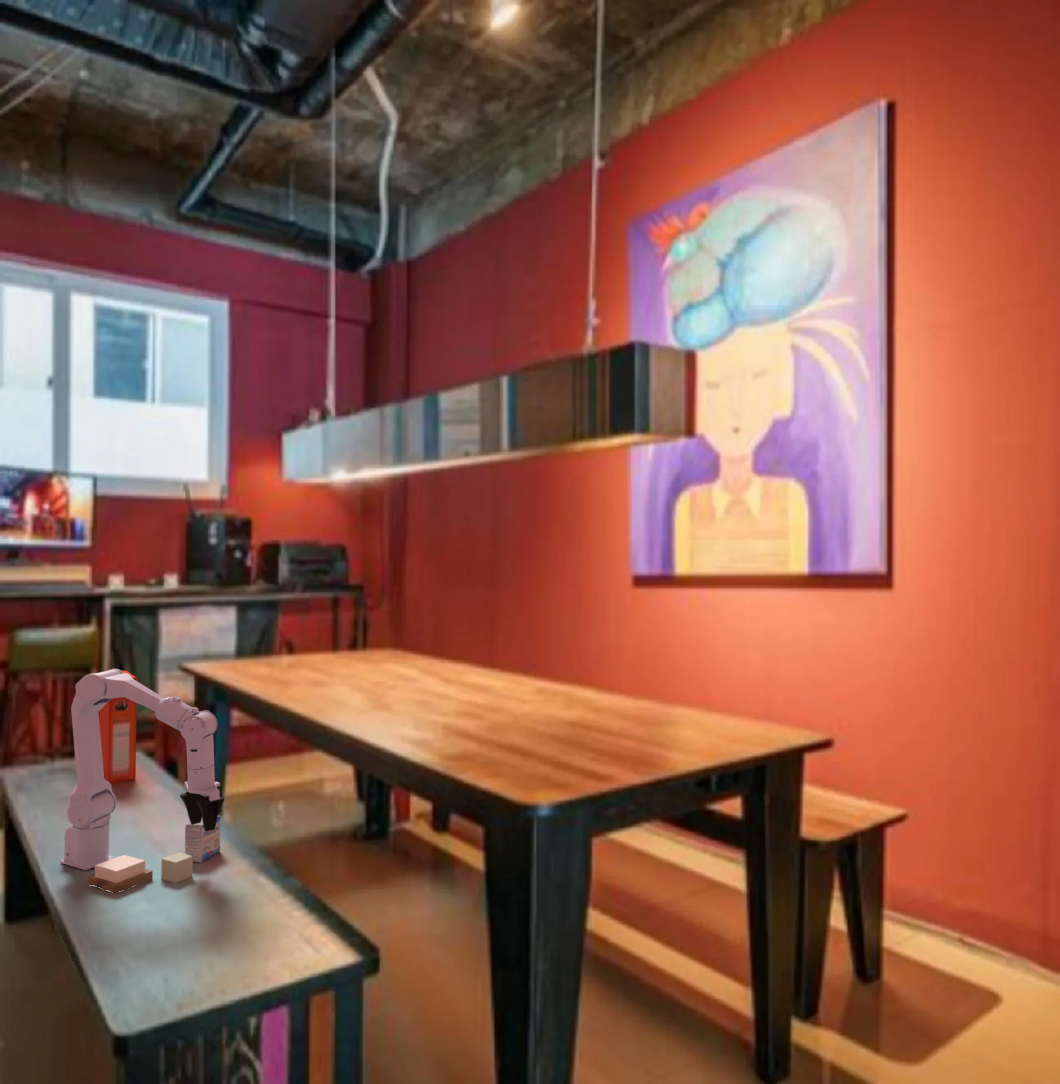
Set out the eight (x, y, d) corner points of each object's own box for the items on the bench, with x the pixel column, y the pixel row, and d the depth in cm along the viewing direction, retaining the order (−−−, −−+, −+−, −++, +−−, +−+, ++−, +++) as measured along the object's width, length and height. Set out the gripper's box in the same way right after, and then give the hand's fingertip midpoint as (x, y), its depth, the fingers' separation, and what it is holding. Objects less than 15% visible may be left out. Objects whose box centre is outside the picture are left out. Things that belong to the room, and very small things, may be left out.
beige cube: (161, 879, 184) (161, 858, 184) (178, 872, 188) (178, 852, 188) (175, 883, 182) (175, 862, 182) (192, 876, 186) (192, 856, 186)
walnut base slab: (88, 888, 180) (88, 876, 180) (125, 874, 188) (125, 863, 188) (115, 897, 175) (115, 885, 176) (152, 882, 183) (152, 871, 183)
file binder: (106, 783, 257) (109, 679, 257) (97, 771, 271) (100, 672, 271) (135, 779, 261) (137, 677, 262) (125, 767, 275) (127, 670, 276)
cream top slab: (94, 876, 180) (95, 865, 180) (123, 866, 186) (124, 855, 186) (116, 883, 177) (116, 871, 177) (145, 872, 183) (145, 860, 183)
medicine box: (201, 863, 193) (202, 825, 194) (184, 861, 194) (184, 824, 194) (220, 851, 201) (221, 815, 201) (203, 850, 202) (204, 814, 202)
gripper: (231, 767, 187) (234, 828, 187) (204, 758, 198) (206, 816, 197) (200, 774, 182) (202, 837, 182) (174, 764, 193) (176, 823, 193)
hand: (202, 826), depth 189 cm, fingers open, 7 cm apart
